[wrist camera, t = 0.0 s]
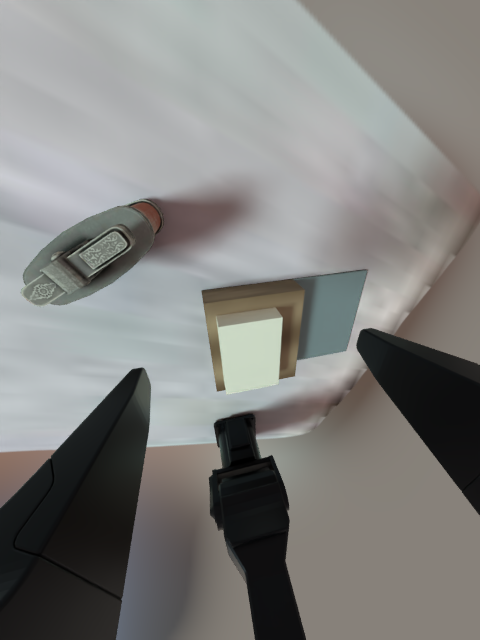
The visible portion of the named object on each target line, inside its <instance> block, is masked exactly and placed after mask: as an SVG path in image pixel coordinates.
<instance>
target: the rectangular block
mask: <svg viewBox="0 0 480 640" xmlns="http://www.w3.org/2000/svg"><path fill="white" fill-rule="evenodd" d="M216 320H217V328H218V336H219V344H220V352H221V360H222V368H223V376H224V383H225V389H226V394H227V395H228V394H233V393H238V392H243V391H248V390H253V389H258V388H263V387H268V386H273V385H278V383H279V367H280V352H281V336H282V320H283V317H282V316H281V314H280V313H279V312H278V310H277V309H276V307H274V308H267V309H261V310H254V311H247V312H240V313H233V314H226V315H220V316H216Z"/></svg>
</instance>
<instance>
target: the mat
mask: <svg viewBox="0 0 480 640" xmlns="http://www.w3.org/2000/svg"><path fill="white" fill-rule="evenodd" d="M366 274H367V270H359V271H351V272H343V273H336V274H328V275H320V276H312V277H304V278H297V279H293V280H294V281H296V282H297V283H298V284H299V285H300V286H301V287H302V288H303V289H305V293H304V302H303V310H302V319H301V327H300V336H299V345H298V353H297V360H300V359H306V358H311V357H316V356H322V355H327V354H333V353H338V352H343V351H346V349H347V345H348V341H349V338H350V334H351V330H352V326H353V323H354V319H355V315H356V311H357V308H358V304H359V300H360V296H361V293H362V289H363V285H364V281H365V278H366Z"/></svg>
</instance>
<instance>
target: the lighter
mask: <svg viewBox="0 0 480 640" xmlns="http://www.w3.org/2000/svg"><path fill="white" fill-rule="evenodd" d="M163 224H164V218H163V214H162V212H161V210H160V208H159V207H158V206H157V205H156V204H155V203H153V202H152V201H150V200H147V199H140V200H137V201H134V202H132V203H129V204H127V205H124V206H118V207H115V208H112V209H109V210H107V211H104V212H102V213H99V214H96V215H94V216H91V217H89V218H87V219H85V220H83V221H81V222H80V223H78V224H76V225H74V226H73V227H71V228H69V229H67V230H66V231H64V232H62V233H61V234H60V235H59V236H57V237H56V238H55V239H54V240H53V241H52V242H50V243H49V244H48V245H47V246H46V247H45V248H43V249H42V250H41V251H40V252H39V253H38V255H37V256H36V257H35V258H34V259H33V261H32V262H31V263H30V264H29V266H28V267H27V268H26V269H25V271H24V273H23V280H24V283H25V285H26V286H24V287H23V288H22V289H21V294H22V296H23V297H24V298H25V299H26V300H28V301H29V302H30V303H32V304H34V305H35V306H39V307H42V306H45V305H48V304H53V305H65V304H69V303H71V302H74V301H76V300H79V299H81V298H84V297H87V296H89V295H91V294H93V293H95V292H97V291H99V290H100V289H102V288H104V287H106V286H108V285H110V284H111V283H113V282H114V281H115V280H117V279H118V278H119V277H121V276H122V275H123V274H124V273H126V272H127V271H128V270H130V269H131V268H132V267H133V266H134V265H135V264H136V263H137V262H138V261H139V260H140V259H141V258H142V257H143V256H144V255H145V254H146V253H147V252H148V251H149V249H150V248H151V246H152V244H153V242H154V237H155V235H156V234H157V233H158V232H159V231H160V230H161V228H162V227H163Z"/></svg>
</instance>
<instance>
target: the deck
mask: <svg viewBox="0 0 480 640" xmlns="http://www.w3.org/2000/svg"><path fill="white" fill-rule="evenodd" d="M304 293H305V289H303V288H302V287H301V286H300V285H299V284H298V283H297V282H296V281H294V280H293V279H289V280H281V281H273V282H265V283H257V284H250V285H242V286H234V287H226V288H218V289H211V290H203V291H202V297H203V303H204V310H205V316H206V323H207V329H208V336H209V343H210V349H211V356H212V362H213V369H214V375H215V382H216V388H217V391H222V390H226V389H225V383H224V376H223V368H222V360H221V352H220V344H219V336H218V328H217V320H216V316H220V315H226V314H233V313H240V312H247V311H254V310H261V309H267V308H274V307H276V309H277V310H278V312H279V313H280V314H281V316H282V317H283V320H282V336H281V352H280V367H279V379H283V378H288V377H293V376H295V370H296V362H297V353H298V345H299V336H300V327H301V319H302V310H303V302H304Z"/></svg>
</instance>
